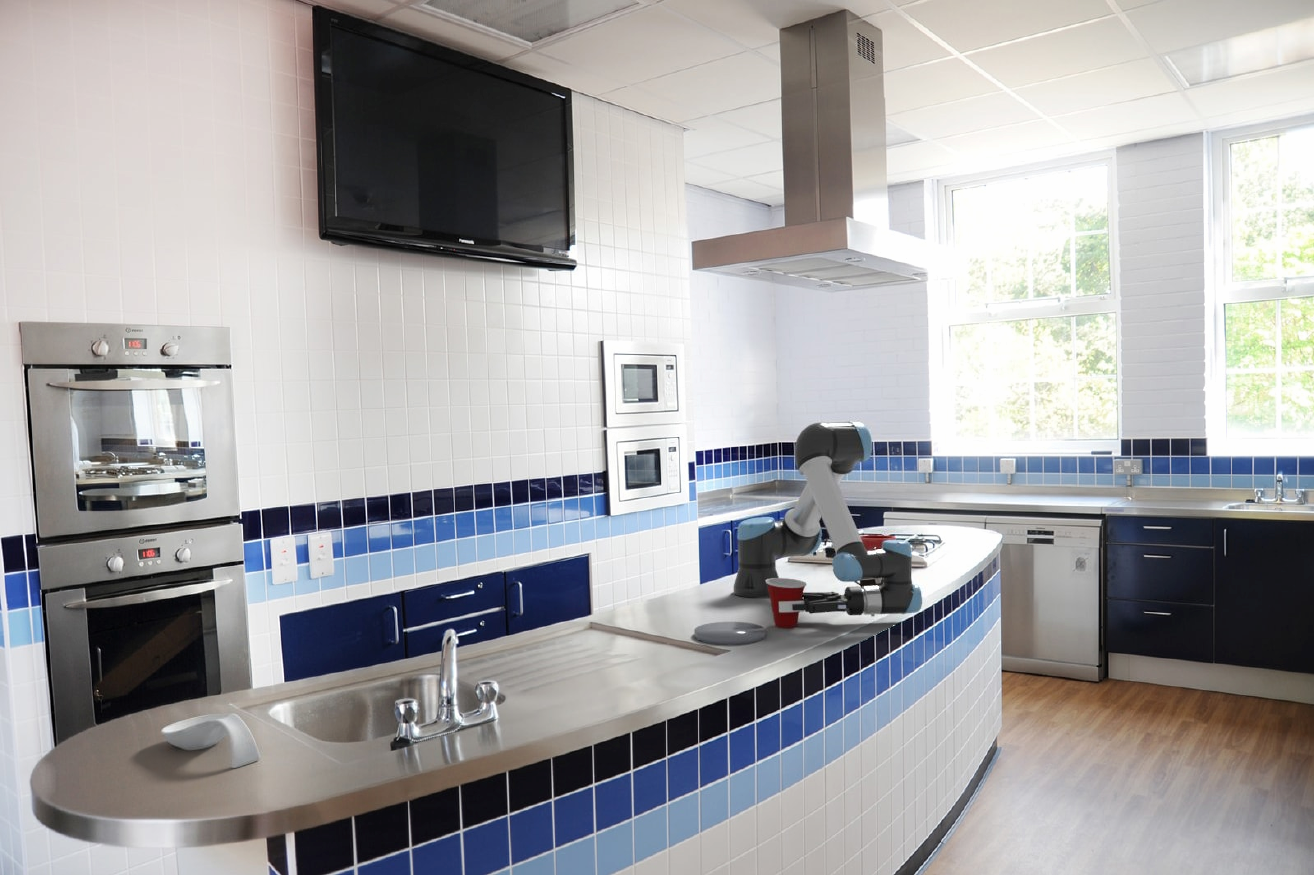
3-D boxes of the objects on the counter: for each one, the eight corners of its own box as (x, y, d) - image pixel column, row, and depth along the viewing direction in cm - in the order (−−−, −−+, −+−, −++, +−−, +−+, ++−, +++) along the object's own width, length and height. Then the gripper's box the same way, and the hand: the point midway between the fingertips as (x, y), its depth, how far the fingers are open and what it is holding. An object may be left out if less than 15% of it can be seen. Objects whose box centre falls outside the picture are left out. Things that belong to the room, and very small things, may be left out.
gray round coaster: (685, 631, 234) (684, 625, 234) (748, 624, 239) (748, 619, 239) (708, 647, 217) (708, 641, 217) (776, 640, 222) (776, 634, 222)
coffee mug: (884, 591, 279) (883, 559, 279) (888, 596, 271) (887, 563, 271) (846, 591, 281) (845, 559, 280) (849, 597, 272) (848, 564, 272)
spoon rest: (149, 747, 160) (148, 707, 160) (216, 728, 169) (214, 690, 169) (213, 778, 145) (211, 734, 145) (282, 755, 154) (280, 714, 154)
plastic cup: (806, 630, 231) (805, 584, 231) (764, 629, 233) (763, 584, 233) (808, 621, 242) (807, 577, 241) (768, 620, 244) (767, 576, 244)
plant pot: (903, 571, 313) (903, 537, 313) (870, 574, 309) (869, 539, 309) (884, 565, 325) (883, 532, 325) (851, 568, 322) (851, 535, 322)
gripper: (872, 623, 228) (783, 626, 227) (852, 606, 248) (770, 609, 247) (872, 594, 227) (782, 597, 227) (851, 579, 248) (769, 582, 247)
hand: (776, 603), depth 237 cm, fingers closed on plastic cup, 8 cm apart
